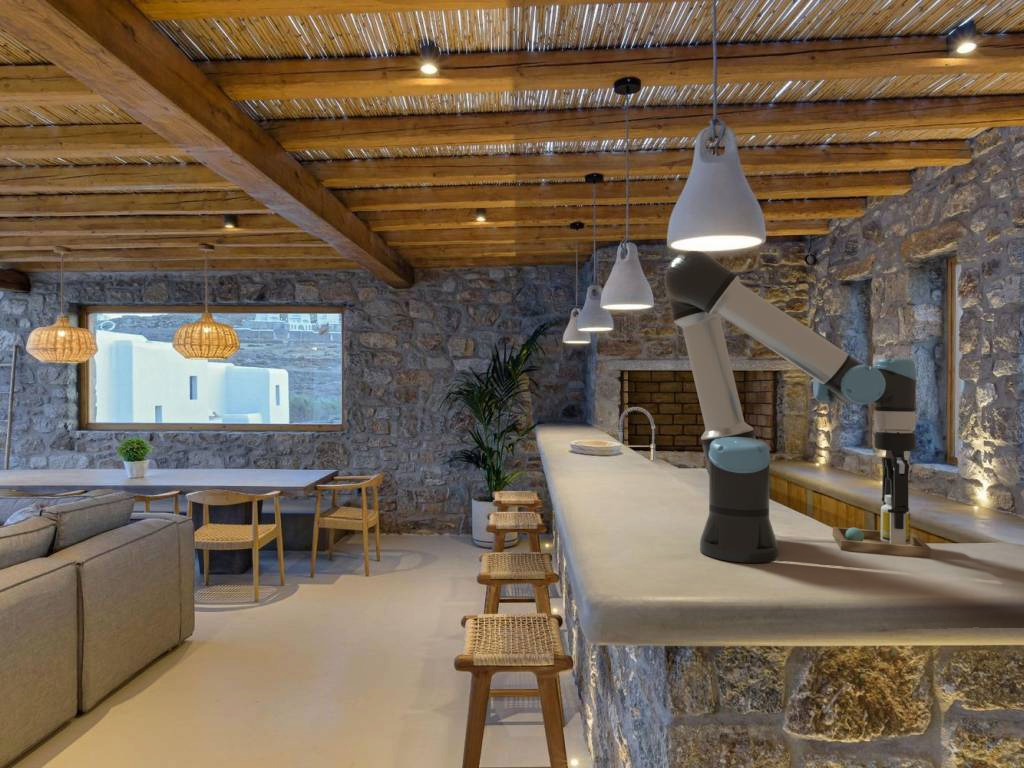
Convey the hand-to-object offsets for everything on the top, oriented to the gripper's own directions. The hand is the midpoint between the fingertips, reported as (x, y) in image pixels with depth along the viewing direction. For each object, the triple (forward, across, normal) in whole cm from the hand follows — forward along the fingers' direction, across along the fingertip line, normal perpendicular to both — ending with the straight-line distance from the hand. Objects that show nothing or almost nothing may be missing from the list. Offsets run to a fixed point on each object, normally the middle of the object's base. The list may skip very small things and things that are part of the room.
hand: (894, 540), depth 135 cm
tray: (+2, 0, +3) cm, 4 cm away
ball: (+1, 0, +8) cm, 8 cm away
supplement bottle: (+1, 0, 0) cm, 1 cm away
